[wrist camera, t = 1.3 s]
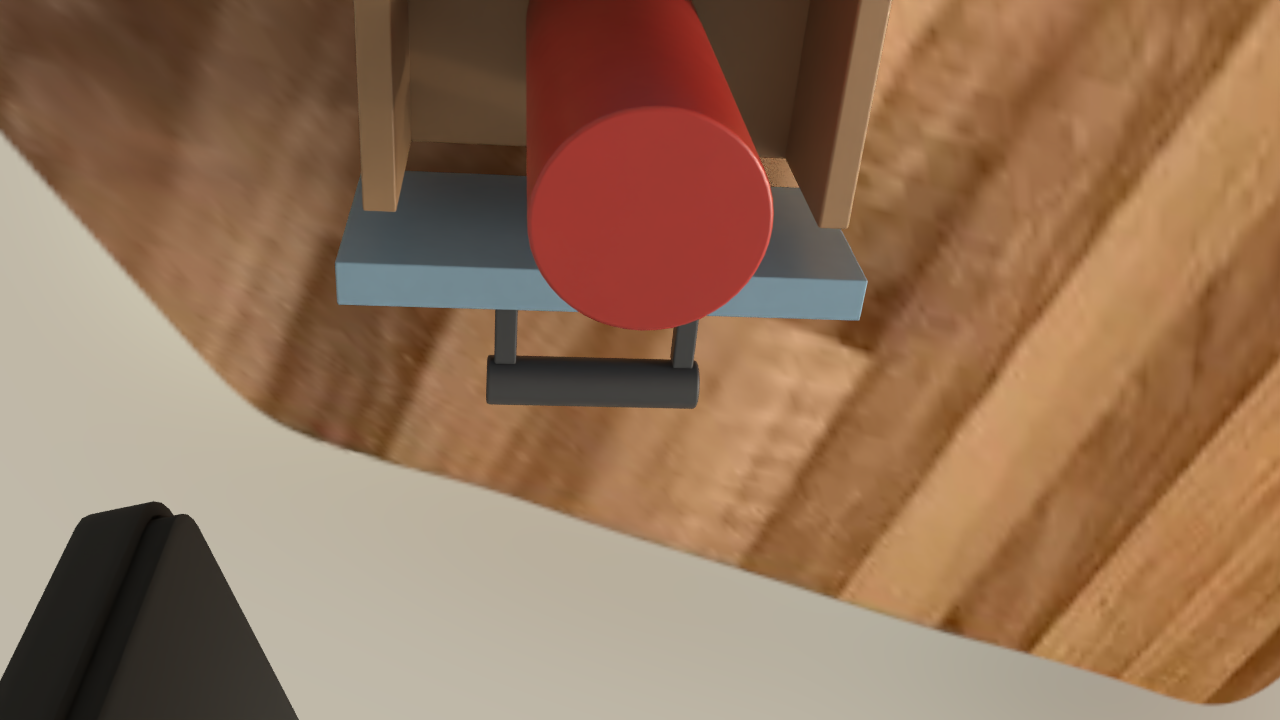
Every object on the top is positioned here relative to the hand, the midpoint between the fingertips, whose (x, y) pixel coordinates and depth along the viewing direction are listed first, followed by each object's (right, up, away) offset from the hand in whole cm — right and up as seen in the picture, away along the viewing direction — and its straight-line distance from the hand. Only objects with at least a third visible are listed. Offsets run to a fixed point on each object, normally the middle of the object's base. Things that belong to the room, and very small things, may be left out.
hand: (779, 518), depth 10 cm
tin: (-2, +10, +21) cm, 24 cm away
